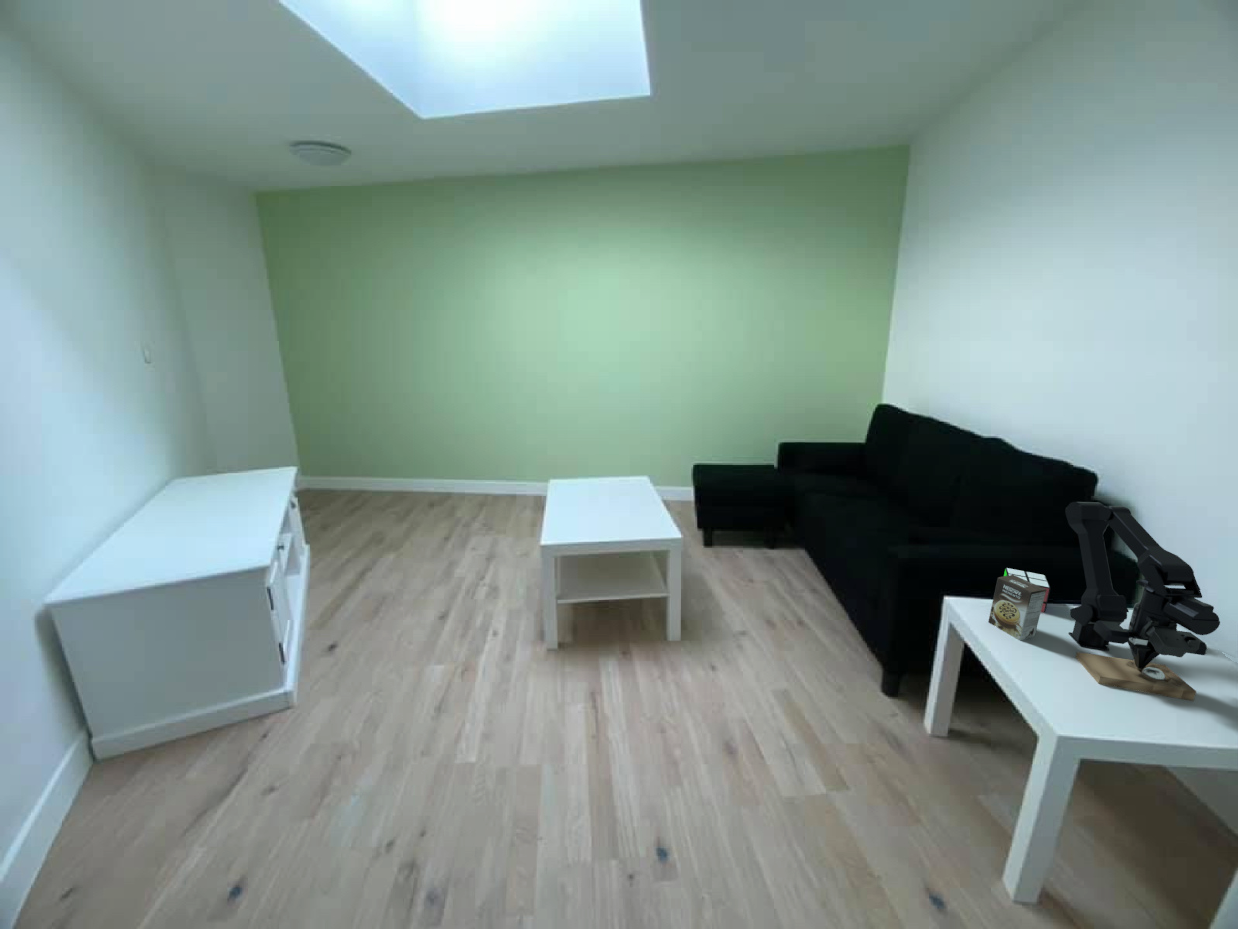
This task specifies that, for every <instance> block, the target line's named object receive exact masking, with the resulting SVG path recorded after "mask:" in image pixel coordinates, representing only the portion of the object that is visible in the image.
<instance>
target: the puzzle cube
mask: <svg viewBox="0 0 1238 929" xmlns="http://www.w3.org/2000/svg"><path fill="white" fill-rule="evenodd" d="M1010 575H1015V576H1017V577H1019V578H1021V579H1024V580H1026V581H1028V582H1031V583H1033V584H1035V585H1038V586H1040V587H1042V588H1045V589H1046V594H1045V597H1044V601H1043V605H1042V609H1041V613H1044V614H1045V613H1046V610H1047V607H1048V601H1049V598H1050V594H1051V593H1050V592H1051V589H1052V588H1051V586H1050V583H1049V581H1048V580H1047V577H1046V575H1044V574H1040V573H1035V572H1030V571H1024V570H1019V569H1016V568H1014V569H1013V568H1010V567H1009V568H1008V567H1006V568H1004V574H1003V576H1010Z"/></svg>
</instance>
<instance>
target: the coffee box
mask: <svg viewBox="0 0 1238 929" xmlns="http://www.w3.org/2000/svg"><path fill="white" fill-rule="evenodd" d="M1045 594H1046V589H1045V588H1042V587H1040V586H1038V585H1035V584H1033V583H1031V582H1028V581H1026V580H1024V579H1021V578H1019V577H1017V576H1015V575H1010V576H1004V575H1003V576H999V577H997V579H996V585H995V588H994V594H993V597H992V601H991V602H992V604H991V608H990V612H989V616H988V617H989V618H988V624H990V625H992V626H994V627H995V626H996V628H997V629H999V630H1000V631H1002V632H1004V633H1006V634H1008V635H1010V637H1013V638H1014V639H1016V640H1018V641H1024V640H1027V639H1032V638H1034V637H1035V636H1036V632H1037V629H1038V625H1039V620H1040V616H1041V613H1042V612H1041V609H1042V605H1043V601H1044V597H1045Z"/></svg>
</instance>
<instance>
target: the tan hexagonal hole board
mask: <svg viewBox="0 0 1238 929" xmlns="http://www.w3.org/2000/svg"><path fill="white" fill-rule="evenodd" d="M1075 659H1076V660H1077V661H1078V662H1079V663H1080V665H1081V666H1082V667H1083V668H1084V669H1085V670H1086V671H1087V672H1088V674H1089V675H1090V676H1091V677H1092V678H1093V679H1094V681H1096V683H1097V684H1098V685H1104V686H1108V687H1114V688H1119V689H1125V690H1129V691H1131V690H1132V691H1136V692H1140V693H1141V692H1142V693H1146V694H1147V693H1148V694H1152V695H1158V696H1162V697H1163V696H1164V697H1170V698H1176V699H1181V700H1187V701H1194V700H1195V697H1196V693H1197V690H1195V689H1194V688H1193V687H1192V686H1191V685H1190V684H1188V683H1187V682H1186V681H1185V680H1183V678H1181V677H1180V676H1179V675H1177V674H1176V673H1175V672H1174V671H1173V670H1171V669H1170V668H1169V667H1168V666H1167V665H1166V664H1162V663H1155V662H1154V663H1153V662H1150V663H1149V664H1148V665H1146V666H1145V667H1144V668H1147V667H1154V668H1157V669H1159V670H1161V671H1162V672H1163V673H1164V675H1165V677H1166V680H1165V681H1159V680H1155V679H1152V678H1150V677H1148V676H1145V675H1143V674H1142V670H1143V669H1144V668H1143V669H1139V668H1137V667H1136V665H1135V662H1134V659H1127V658H1120V657H1113V656H1106V655H1101V654H1099V655H1098V654H1091V653H1085V652H1081V651H1080V652H1079V651H1077V652H1076V654H1075Z"/></svg>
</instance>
